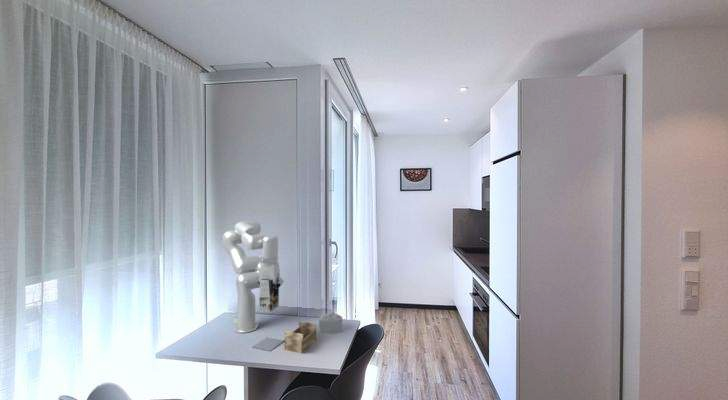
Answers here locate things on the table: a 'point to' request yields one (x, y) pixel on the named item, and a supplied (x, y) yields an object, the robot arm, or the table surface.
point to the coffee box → (267, 296)
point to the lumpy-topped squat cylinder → (330, 323)
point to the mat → (268, 344)
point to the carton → (301, 337)
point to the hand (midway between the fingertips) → (269, 294)
